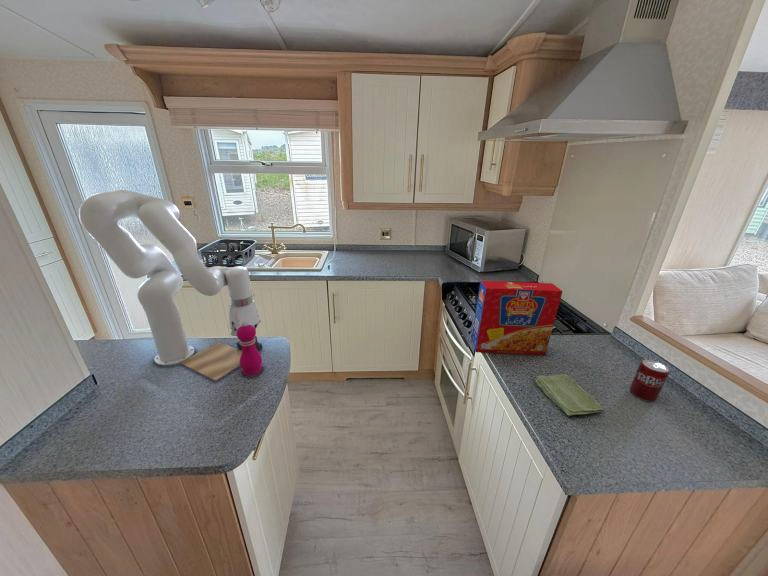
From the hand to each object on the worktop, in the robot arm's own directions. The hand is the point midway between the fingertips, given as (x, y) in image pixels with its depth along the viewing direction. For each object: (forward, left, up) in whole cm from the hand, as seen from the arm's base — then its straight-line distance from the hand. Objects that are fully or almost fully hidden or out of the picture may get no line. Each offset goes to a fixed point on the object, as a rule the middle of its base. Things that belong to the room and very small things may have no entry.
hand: (248, 342), depth 119 cm
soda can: (+134, +46, -3) cm, 142 cm away
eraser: (0, 0, -2) cm, 2 cm away
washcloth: (+111, +32, -3) cm, 115 cm away
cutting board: (-4, -11, -3) cm, 12 cm away
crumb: (-2, -1, -3) cm, 4 cm away
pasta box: (+90, +53, -3) cm, 104 cm away
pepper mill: (+12, -9, -3) cm, 15 cm away
